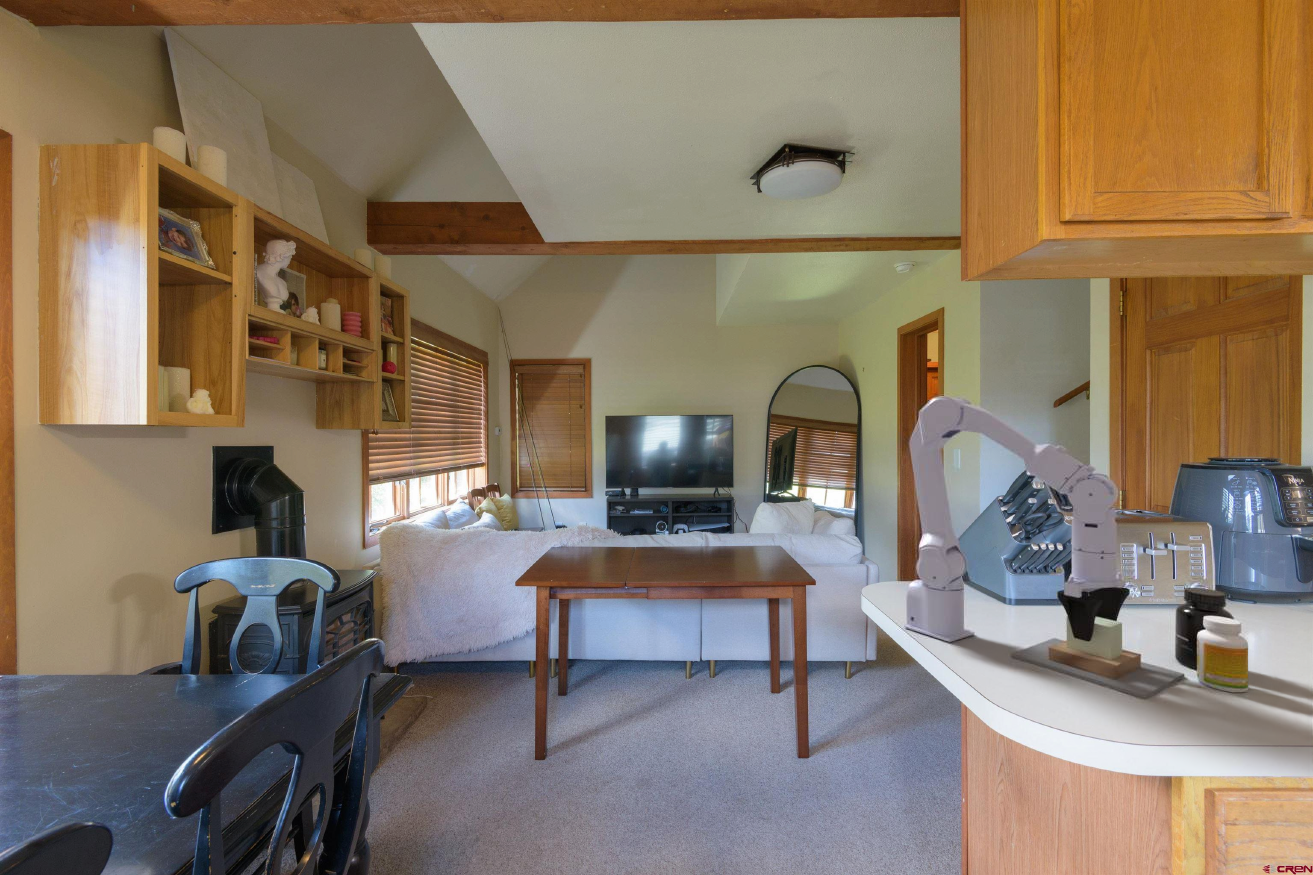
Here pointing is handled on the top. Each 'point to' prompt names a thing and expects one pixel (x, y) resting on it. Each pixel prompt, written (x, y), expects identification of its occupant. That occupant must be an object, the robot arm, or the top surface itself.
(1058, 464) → the robot arm
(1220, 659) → the supplement bottle
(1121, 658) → the walnut base brick
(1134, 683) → the grey mat
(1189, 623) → the supplement bottle
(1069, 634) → the sage brick
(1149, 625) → the top surface
